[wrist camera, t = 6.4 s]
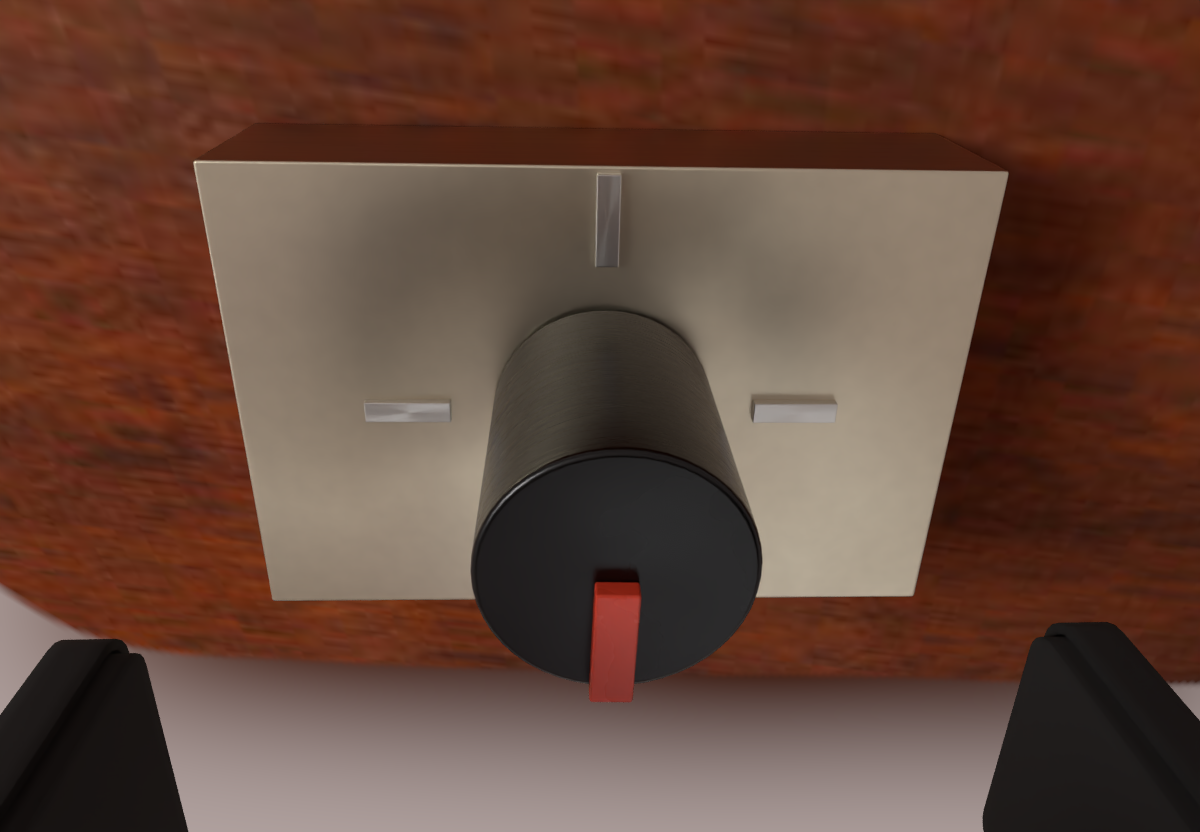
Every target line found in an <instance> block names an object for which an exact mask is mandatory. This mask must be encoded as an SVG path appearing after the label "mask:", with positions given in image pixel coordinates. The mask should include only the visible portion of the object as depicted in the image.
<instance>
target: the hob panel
mask: <svg viewBox="0 0 1200 832" xmlns="http://www.w3.org/2000/svg"><path fill="white" fill-rule="evenodd" d="M193 164H194V169H195V175H196V180H197V186H198V191H199V197H200V202H201V208H202V213H203V219H204V224H205V230H206V235H207V241H208V246H209V252H210V257H211V263H212V268H213V274H214V279H215V285H216V290H217V296H218V301H219V307H220V312H221V318H222V323H223V329H224V334H225V340H226V345H227V351H228V356H229V362H230V367H231V373H232V378H233V384H234V389H235V395H236V400H237V406H238V411H239V417H240V422H241V428H242V434H243V439H244V445H245V450H246V456H247V461H248V467H249V472H250V478H251V483H252V489H253V494H254V500H255V505H256V511H257V516H258V522H259V527H260V533H261V538H262V544H263V549H264V555H265V560H266V566H267V571H268V577H269V582H270V588H271V593H272V599H273V600H274V601H298V600H448V599H475V597H474V593H473V589H472V583H471V573H470V568H471V554H472V547H473V540H474V534H475V527H476V520H477V513H478V506H479V500H480V493H481V486H482V479H483V472H484V465H485V459H486V452H487V445H488V438H489V431H490V425H491V418H492V411H493V404H494V397H495V393H496V388H497V384H498V381H499V379H500V376H501V373H502V371H503V369H504V368H505V366H506V364H507V362H508V360H509V359H510V358H511V356H512V355H513V354H514V352H515V351H516V350H517V349H518V348H519V347H520V346H521V345H522V344H523V343H524V342H525V341H526V340H527V339H528V338H529V337H530V336H532V335H533V334H534V333H536V332H537V331H538V330H540V329H542V328H543V327H545V326H547V325H548V324H550V323H552V322H555V321H557V320H559V319H562V318H564V317H567V316H571V315H574V314H578V313H584V312H590V311H608V310H609V311H620V312H627V313H631V314H636V315H639V316H642V317H645V318H648V319H651V320H653V321H655V322H657V323H659V324H661V325H663V326H665V327H666V328H668V329H669V330H671V331H672V332H673V333H675V334H676V335H677V336H679V337H680V338H681V339H682V340H683V341H684V342H685V343H686V344H687V345H688V346H689V347H690V349H691V350H692V351H693V352H694V353H695V355H696V356H697V358H698V360H699V361H700V363H701V365H702V366H703V369H704V371H705V374H706V376H707V378H708V381H709V384H710V387H711V391H712V394H713V397H714V400H715V403H716V406H717V409H718V412H719V415H720V418H721V421H722V424H723V427H724V430H725V433H726V436H727V439H728V442H729V445H730V448H731V451H732V454H733V457H734V460H735V463H736V466H737V469H738V472H739V475H740V478H741V481H742V484H743V487H744V490H745V493H746V496H747V499H748V502H749V505H750V508H751V511H752V514H753V517H754V520H755V523H756V527H757V530H758V533H759V537H760V541H761V546H762V558H763V563H762V576H761V580H760V584H759V588H758V592H757V595H756V597H898V596H913V595H914V592H915V587H916V583H917V578H918V574H919V570H920V565H921V561H922V556H923V552H924V547H925V543H926V539H927V534H928V530H929V525H930V521H931V516H932V512H933V508H934V503H935V499H936V494H937V490H938V485H939V481H940V477H941V472H942V468H943V463H944V459H945V454H946V450H947V446H948V441H949V437H950V432H951V428H952V423H953V419H954V415H955V410H956V406H957V401H958V397H959V393H960V388H961V384H962V379H963V375H964V370H965V366H966V362H967V357H968V353H969V348H970V344H971V339H972V335H973V331H974V326H975V322H976V317H977V313H978V308H979V304H980V300H981V295H982V291H983V286H984V282H985V277H986V273H987V269H988V264H989V260H990V255H991V251H992V246H993V242H994V238H995V233H996V229H997V224H998V220H999V215H1000V211H1001V207H1002V202H1003V198H1004V193H1005V189H1006V184H1007V180H1008V176H1009V172H1008V171H1007V170H1005V169H1003V168H1001V167H999V166H997V165H995V164H994V163H992V162H990V161H988V160H986V159H984V158H982V157H980V156H978V155H976V154H974V153H972V152H971V151H969V150H967V149H965V148H963V147H961V146H959V145H957V144H955V143H953V142H951V141H949V140H948V139H946V138H944V137H942V136H940V135H938V134H935V133H869V132H803V131H738V130H672V129H607V128H541V127H475V126H410V125H344V124H279V123H255V124H253V125H252V126H250V127H248V128H247V129H245V130H243V131H242V132H240V133H238V134H237V135H235V136H233V137H232V138H230V139H228V140H227V141H225V142H223V143H222V144H220V145H218V146H217V147H215V148H213V149H212V150H210V151H208V152H207V153H205V154H203V155H202V156H200V157H198V158H197V159H195V160H194V162H193Z"/></svg>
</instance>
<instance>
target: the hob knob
mask: <svg viewBox="0 0 1200 832" xmlns="http://www.w3.org/2000/svg"><path fill="white" fill-rule="evenodd" d="M762 563H763V558H762V546H761V541H760V537H759V533H758V530H757V527H756V523H755V520H754V517H753V514H752V511H751V508H750V505H749V502H748V499H747V496H746V493H745V490H744V487H743V484H742V481H741V478H740V475H739V472H738V469H737V466H736V463H735V460H734V457H733V454H732V451H731V448H730V445H729V442H728V439H727V436H726V433H725V430H724V427H723V424H722V421H721V418H720V415H719V412H718V409H717V406H716V403H715V400H714V397H713V394H712V391H711V387H710V384H709V381H708V378H707V376H706V374H705V371H704V369H703V366H702V365H701V363H700V361H699V360H698V358H697V356H696V355H695V353H694V352H693V351H692V350H691V349H690V347H689V346H688V345H687V344H686V343H685V342H684V341H683V340H682V339H681V338H680V337H679V336H677V335H676V334H675V333H673V332H672V331H671V330H669V329H668V328H666V327H665V326H663V325H661V324H659V323H657V322H655V321H653V320H651V319H648V318H645V317H642V316H639V315H636V314H631V313H627V312H620V311H609V310H608V311H590V312H584V313H578V314H574V315H571V316H567V317H564V318H562V319H559V320H557V321H555V322H552V323H550V324H548V325H547V326H545V327H543V328H542V329H540V330H538V331H537V332H536V333H534V334H533V335H532V336H530V337H529V338H528V339H527V340H526V341H525V342H524V343H523V344H522V345H521V346H520V347H519V348H518V349H517V350H516V351H515V352H514V354H513V355H512V356H511V358H510V359H509V360H508V362H507V364H506V366H505V368H504V369H503V371H502V373H501V376H500V379H499V381H498V384H497V388H496V393H495V397H494V404H493V411H492V418H491V425H490V431H489V438H488V445H487V452H486V459H485V465H484V472H483V479H482V486H481V493H480V500H479V506H478V513H477V520H476V527H475V534H474V540H473V547H472V554H471V568H470V573H471V583H472V589H473V593H474V597H475V600H476V603H477V605H478V608H479V610H480V612H481V614H482V616H483V618H484V620H485V621H486V623H487V624H488V626H489V628H490V629H491V631H492V632H493V633H494V634H495V636H496V637H497V638H498V639H499V640H500V641H501V643H502V644H503V645H505V646H506V647H507V648H508V649H509V650H510V651H511V652H512V653H514V654H515V655H516V656H518V657H519V658H521V659H522V660H524V661H525V662H527V663H528V664H530V665H532V666H534V667H536V668H538V669H540V670H541V671H544V672H546V673H549V674H551V675H554V676H556V677H559V678H563V679H567V680H571V681H574V682H580V683H586V684H589V699H590V701H591V702H631V701H632V700H633V690H634V684H636V683H644V682H649V681H653V680H657V679H661V678H664V677H667V676H670V675H673V674H676V673H678V672H680V671H683V670H685V669H687V668H689V667H691V666H693V665H695V664H697V663H698V662H700V661H702V660H703V659H705V658H706V657H708V656H709V655H711V654H712V653H713V652H715V651H716V650H717V649H718V648H720V647H721V646H722V645H723V644H724V643H725V642H726V641H727V640H728V639H729V638H730V637H731V636H732V635H733V634H734V633H735V632H736V630H737V629H738V628H739V626H740V625H741V624H742V623H743V621H744V619H745V618H746V616H747V614H748V613H749V611H750V609H751V607H752V605H753V602H754V600H755V597H756V595H757V592H758V588H759V584H760V580H761V576H762Z"/></svg>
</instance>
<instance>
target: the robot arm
mask: <svg viewBox="0 0 1200 832" xmlns="http://www.w3.org/2000/svg"><path fill="white" fill-rule="evenodd" d="M983 830H984V832H1200V721H1199V719H1198V718H1197V717H1196V716H1195V715H1194V714H1193V713H1192V712H1191V710H1190V709H1189V708H1188V707H1187V706H1186V705H1185V704H1184V702H1183V701H1182V700H1181V699H1180V697H1179V696H1178V695H1177V694H1176V693H1175V692H1174V691H1173V689H1172V688H1171V687H1170V686H1169V685H1168V684H1167V683H1166V681H1165V680H1164V679H1163V678H1162V677H1161V676H1160V674H1159V673H1158V672H1157V671H1156V670H1155V669H1154V668H1153V666H1152V665H1151V664H1150V663H1149V662H1148V661H1147V659H1146V658H1145V657H1144V656H1143V655H1142V654H1141V653H1140V651H1139V650H1138V649H1137V648H1136V647H1135V646H1134V645H1133V643H1132V642H1131V641H1130V640H1129V639H1128V638H1127V636H1126V635H1125V634H1124V633H1123V632H1122V631H1121V630H1120V629H1119V628H1118V627H1117V626H1115V625H1114V624H1111V623H1108V622H1084V623H1056V624H1052V625H1051V626H1050V627H1049V628H1048V629H1047V631H1046V633H1045V636H1044V637H1039V638H1036V639H1035V640H1034V641H1033V642H1032V645H1031V647H1030V650H1029V654H1028V657H1027V661H1026V664H1025V667H1024V671H1023V674H1022V678H1021V681H1020V685H1019V688H1018V692H1017V696H1016V699H1015V702H1014V706H1013V709H1012V713H1011V716H1010V720H1009V723H1008V727H1007V730H1006V734H1005V738H1004V741H1003V744H1002V748H1001V751H1000V755H999V758H998V762H997V765H996V769H995V772H994V776H993V779H992V784H991V786H990V790H989V794H988V797H987V800H986V804H985V807H984V812H983ZM0 832H188V829H187V825H186V820H185V817H184V813H183V809H182V805H181V801H180V797H179V793H178V789H177V785H176V781H175V777H174V773H173V769H172V765H171V761H170V757H169V753H168V749H167V745H166V741H165V737H164V734H163V729H162V725H161V722H160V717H159V714H158V709H157V705H156V701H155V697H154V694H153V690H152V686H151V682H150V678H149V674H148V670H147V666H146V663H145V660H144V658H143V657H142V655H141V654H137V653H129V651H128V648H127V646H126V644H125V643H124V642H123V641H122V640H118V639H89V640H61V641H58V642H56V643H54V645H52V647H51V648H50V649H49V650H48V651H47V652H46V653H45V655H44V656H43V658H42V659H41V660H40V662H39V663H38V664H37V666H36V667H35V668H34V670H33V671H32V672H31V674H30V675H29V677H28V678H27V679H26V681H25V682H24V683H23V685H22V686H21V687H20V689H19V690H18V691H17V693H16V694H15V696H14V697H13V698H12V700H11V701H10V702H9V704H8V705H7V706H6V708H5V709H4V711H3V712H2V713H1V715H0Z"/></svg>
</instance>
